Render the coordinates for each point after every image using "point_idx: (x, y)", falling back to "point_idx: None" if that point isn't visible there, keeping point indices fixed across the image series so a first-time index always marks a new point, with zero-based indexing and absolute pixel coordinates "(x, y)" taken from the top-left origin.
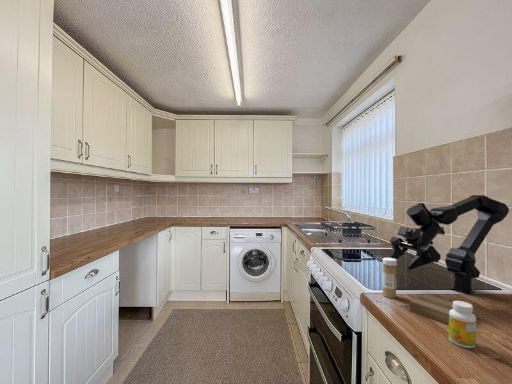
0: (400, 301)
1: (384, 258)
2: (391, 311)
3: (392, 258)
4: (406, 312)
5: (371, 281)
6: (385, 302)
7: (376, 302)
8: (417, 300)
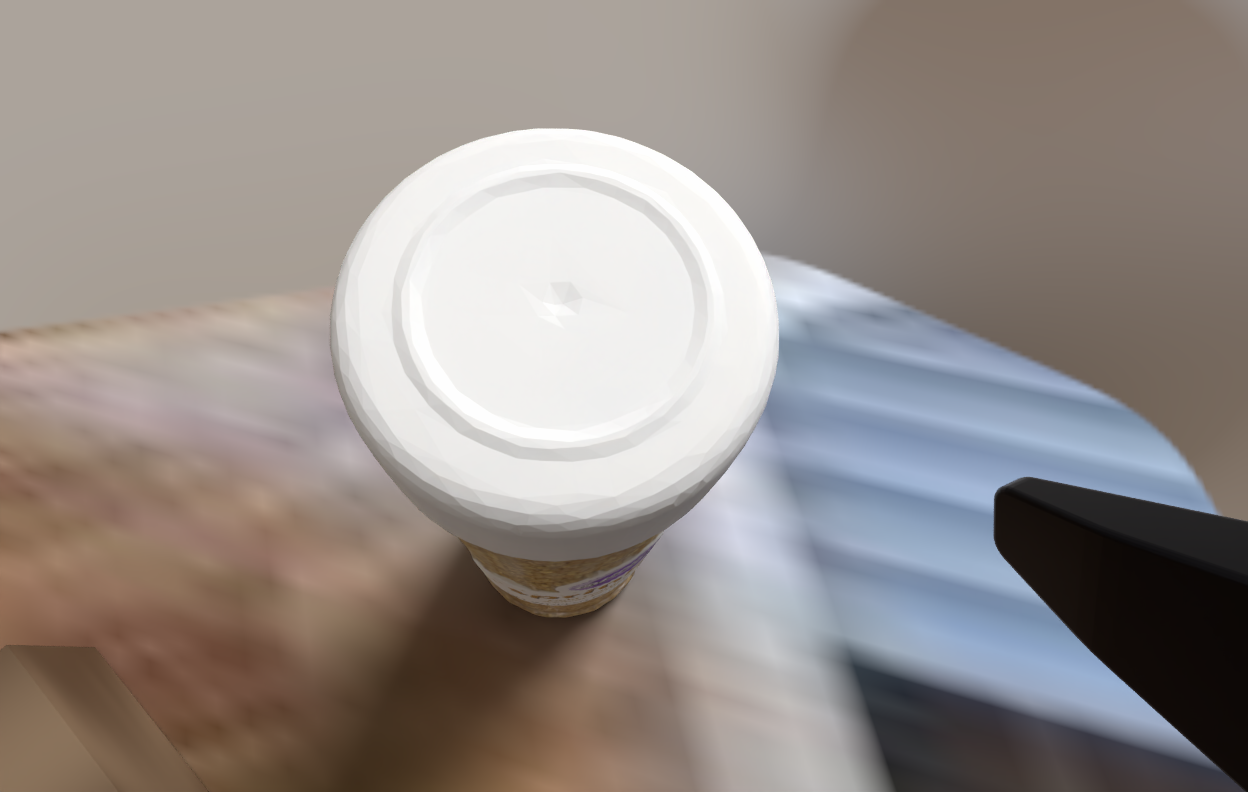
0: (397, 626)
1: (589, 156)
2: (75, 420)
3: (651, 410)
4: (48, 589)
5: (1068, 438)
6: (336, 425)
7: (322, 325)
8: (39, 790)
